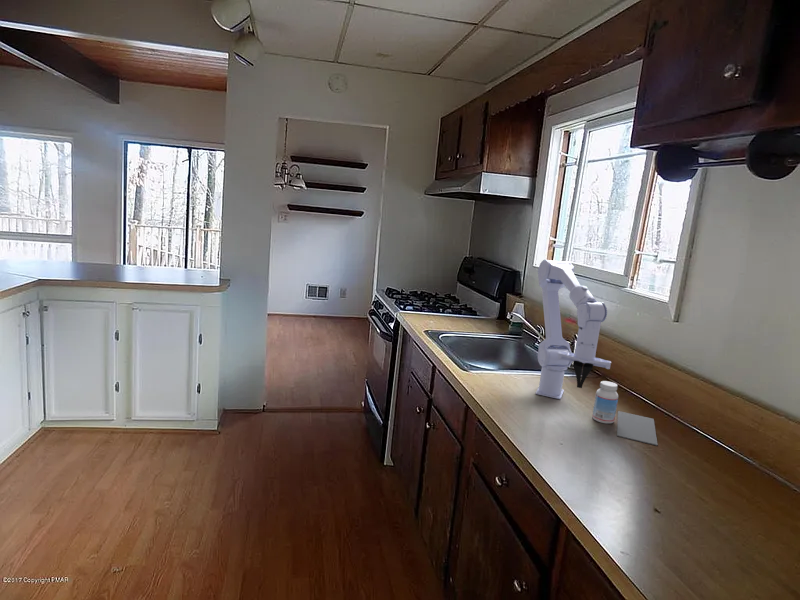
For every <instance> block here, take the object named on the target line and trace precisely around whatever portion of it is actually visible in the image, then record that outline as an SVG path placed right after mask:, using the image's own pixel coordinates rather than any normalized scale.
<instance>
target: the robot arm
mask: <svg viewBox="0 0 800 600" xmlns="http://www.w3.org/2000/svg"><path fill="white" fill-rule="evenodd" d="M537 275H538V276H537V278H538V286H539V287H540V288H541V292H542V293H541V295H542V296H541V297H542V305H543V306H542V308H543V318H544V328H545V329H544V330H545V339H543V340H542V341H540V343H539V344H538V351H537V352H538V353H537V361H538V364H539V366H541V371H540V377H539V383H538V385H539V386H538V387H537V389H536V391H535V394H536V395H539V396H543V397H548V398H551V399H552V398H553V399H557V400H561V399H562V397H563V393H564V391H565V389H563V385H564V377H565V371H568V368H570V367H571V365H572V366H573V370H574V373H575V377H576V388H579V389H583V385H584V383H585V381H586V378H587V377H588V375H589V374H590V372H592V370H593V367H594V366H595V367H600V368H603V369H604V368H605V369H606V370H610V369H611V364H612V361H611V360H606V359H603V358H599V357H596V354H597V353H596V352H597V348H598V342H599V338H600V337H599V335H600V330H601V325H602V323H603V322H605V320H606V319H607V315H608V310H607V306H606V304H605V302H603V301H602V302H601V301H599V300H596V298H595V297H594V296H593V294H592V293H591V292H590V290H589V287H587V286H586V285H581V284H580V282H579V281H578V279H577V277H576V275H575V266H574V264H572V262H571V261H566V260H565V261H564V260H563V261H562V260H561V261H560V260H549V259H543V260H541V262H540V263H539V266H538V269H537ZM565 287H566V289H567V290H568V291H569V295H568V296H569V299H570V300H571V302H572V303H573V305H574V306H575V308H576V315H577V316H576V317H577V326H578V329H577V330H578V331H577V337H576V343H575V350H574V352H572V350H571V345H570V343H569V341H567V340H566V339H565V338H563V330H562V320H561V319H562V318H561V309H560V307H561V306H560V297H559V291H560V289H563V288H565ZM572 363H573V364H572Z"/></svg>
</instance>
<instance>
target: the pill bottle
mask: <svg viewBox="0 0 800 600" xmlns="http://www.w3.org/2000/svg"><path fill="white" fill-rule="evenodd" d="M617 390H618V384H617V383H615V382H612V381H608V380H602V381H600V383H599V388H598V389H597V390H596V391H595V397H594V403H593V409H592V415H591V416H592V419H593V420H594V421H596V422H599V423H601V424H613V423H615V420H616V419H615V418H616V412H617V407H618V402H619V394H618V392H617Z"/></svg>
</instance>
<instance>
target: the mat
mask: <svg viewBox="0 0 800 600" xmlns="http://www.w3.org/2000/svg"><path fill="white" fill-rule="evenodd" d="M655 424H656V423H655V420H654V418H651V417H646V416H643V415H638V414H634V413H633V414H632V413H630V412H625V411H621V410H618V411H617V423H616V427H617V428H616V437H618V438H619V437H620V438H624V439H628V440H631V441H635V442H639V443H640V442H641V443H644V444H648V445H653V446H657V447H658V445H659V444H658V439H657V434H656V433H657V432H656V425H655Z"/></svg>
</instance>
